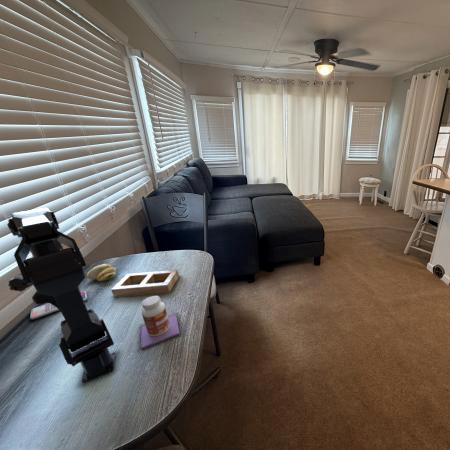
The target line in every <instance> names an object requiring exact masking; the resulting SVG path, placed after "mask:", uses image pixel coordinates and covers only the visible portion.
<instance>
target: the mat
mask: <svg viewBox="0 0 450 450" xmlns="http://www.w3.org/2000/svg"><path fill="white" fill-rule="evenodd" d="M168 319H169V323H170V327H169V329H168V330H167V331H166V332H165V333H163V334H161V335H158V336H150V335H149V334H148V332H147V329H146V325H145V324H142V325H141V329H140V330H141V331H140V333H141V335H140V336H141V341H140V342H141V343H140V344H141V349H145V348H147V347H151V346H153V345H155V344H157V343H160V342H163V341H166V340H168V339H170V338H173V337H175V336H176V337H177V336H178V335H180V330H179V324H178V319H177V313H174V314H171V315H168Z"/></svg>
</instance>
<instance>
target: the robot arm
mask: <svg viewBox="0 0 450 450" xmlns="http://www.w3.org/2000/svg"><path fill="white" fill-rule="evenodd" d="M11 217H12V218H8V219H7V222H8V223H7V224H6V225H7V227H8V229H9V231H10V232H11V233H12V236H13V237H15V236H16V237H17V238H21V240H20V242H19V244H18V246H17V248H16V249H15V252H14V254H13V256H14V259H15V262H16V264H17V266H18V269H19V272H20V273H18V274H16V275H15V276H14V277H12V278H10V279H9V281H8V283H7V286H8V287H9V290H10V291H15V292H20V293H22V292H24V291H25V290H27V289H28V288H30V287H31V286H33V287H34V289H35V292H34V293H33V295H32V296H31V299H32V302H33V303H34V305H45V304H48V303H50V304H52V305H54V306H55V307H56V308H58V309H59V310H58V311H60V313H61V315H62V317H63V319H64V320H62V321H61V322H60V327H61V328H60V330H61V334H62V335H63V336H61V337H60V342H59V344H58V346H59V349H60V351H61V354H62V356H63V358H64V360H65V362H66V363H67V364H66V365H70V366H71V367H75V366H76V365H78V364H80V365H81V367H82V369H83V375H82V377H81V384H85V383H88V382H90V381H93V380H94V379H97V378H100V377H102V376H104V375H107V374H109V373H111V372H113V371H114V370H115V366H116V365H115V364H116V355H117V353H116V352H111V353H110V350H109V348H110V347H112V346H114V345H115V343H114V340H113V338H112V336H111V334H110V332H109V329H108V327H107V325H106V323H105V321H104V319H103V318H99V316H98V314H97V313H95V310H94V309H92V308H89V309H88V307H87V305H86V303H85V301H84V300H83V298H82V295H81V292H82V291H81V290H80V285H81V284H82V283H83V281H84V280H85V279H86V274H85V271H84V268H86V267H87V263H86V260H85V258H84V256H83V254H82V252H81V250H80V248H79V246H78V244H77V242H76V240H75V239H74V238H72V237H70V236H69V235H67V234H65V233H63V232H61V231H59V229H60V226H59V225H60V224H59V222H58V219H57V216H56V215H55V212H54V211H53V210H51V211H50V210H49V208H48V207H42V208H36V209H30V210H24V211H19V212H13V213H11ZM63 245H64V246H66V248H64V247H63ZM29 254H31V256H32V257H29V258H28V256H29Z"/></svg>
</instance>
